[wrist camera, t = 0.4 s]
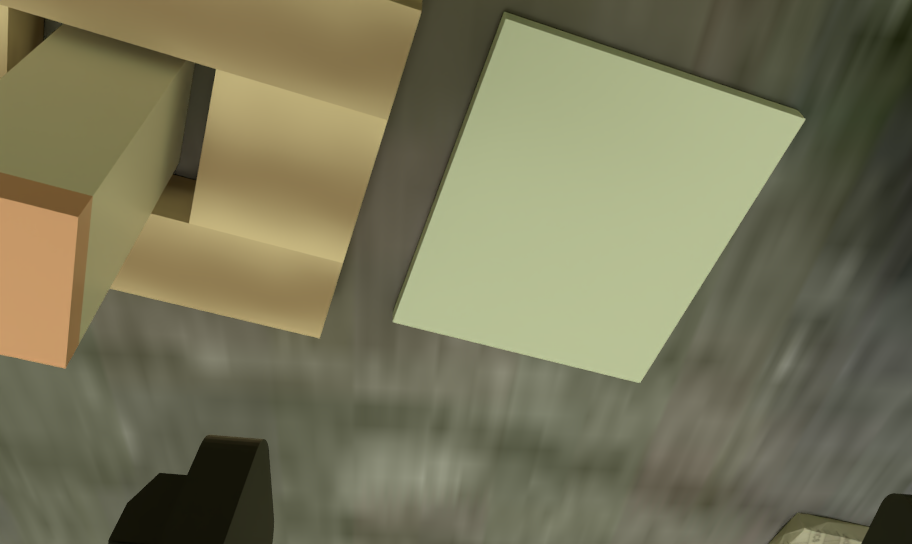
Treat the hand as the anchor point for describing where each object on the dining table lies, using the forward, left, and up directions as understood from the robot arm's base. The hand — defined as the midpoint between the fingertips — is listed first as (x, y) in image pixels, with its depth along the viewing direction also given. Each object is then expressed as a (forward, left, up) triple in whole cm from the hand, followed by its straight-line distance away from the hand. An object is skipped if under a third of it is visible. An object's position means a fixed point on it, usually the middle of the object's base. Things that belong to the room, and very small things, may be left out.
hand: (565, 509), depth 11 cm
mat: (+7, +7, -22) cm, 24 cm away
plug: (+7, -11, -22) cm, 25 cm away
